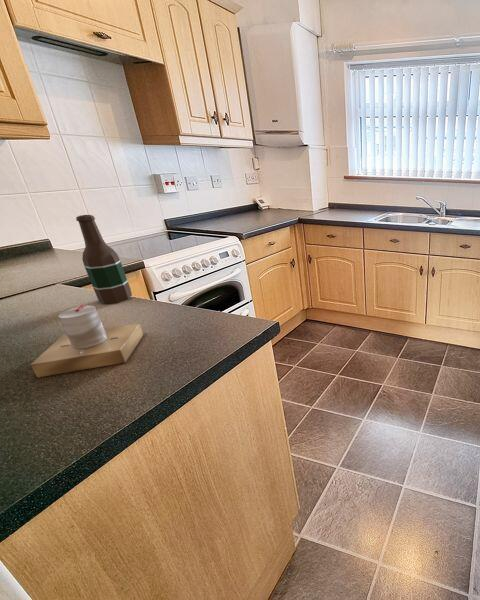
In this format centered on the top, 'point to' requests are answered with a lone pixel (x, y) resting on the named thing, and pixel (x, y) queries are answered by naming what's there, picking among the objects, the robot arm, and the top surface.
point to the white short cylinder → (83, 326)
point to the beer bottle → (102, 264)
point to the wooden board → (88, 352)
